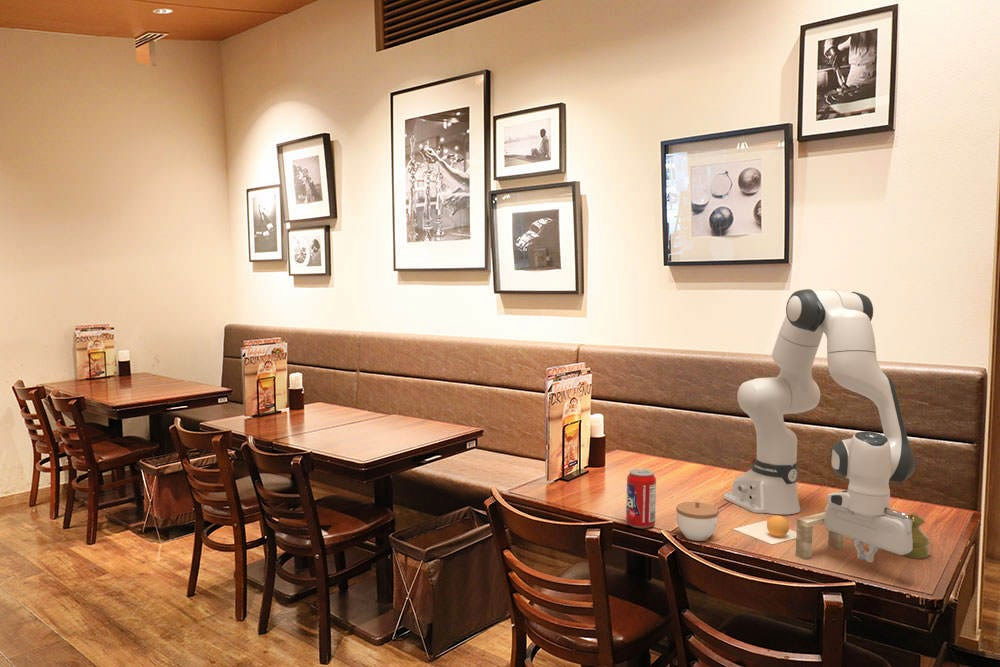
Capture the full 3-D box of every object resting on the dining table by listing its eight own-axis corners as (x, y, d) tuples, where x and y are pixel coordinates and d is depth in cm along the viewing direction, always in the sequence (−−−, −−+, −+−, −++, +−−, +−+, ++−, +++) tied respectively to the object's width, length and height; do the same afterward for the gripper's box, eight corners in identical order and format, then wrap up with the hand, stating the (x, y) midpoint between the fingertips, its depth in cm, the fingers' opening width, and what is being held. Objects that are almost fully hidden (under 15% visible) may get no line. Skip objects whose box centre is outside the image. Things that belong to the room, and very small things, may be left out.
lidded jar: (726, 538, 190) (727, 503, 190) (699, 547, 184) (700, 511, 183) (693, 526, 199) (694, 493, 198) (667, 534, 193) (667, 500, 192)
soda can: (655, 530, 196) (657, 476, 194) (626, 529, 197) (627, 474, 196) (654, 521, 203) (655, 468, 202) (625, 519, 205) (626, 467, 203)
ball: (776, 515, 189) (782, 537, 187) (789, 512, 192) (796, 533, 190) (759, 519, 193) (766, 540, 192) (773, 515, 196) (779, 536, 195)
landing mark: (732, 529, 197) (732, 528, 197) (765, 521, 204) (765, 520, 204) (772, 545, 186) (772, 544, 186) (805, 536, 192) (805, 535, 192)
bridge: (795, 555, 179) (797, 519, 178) (832, 544, 186) (834, 509, 186) (806, 559, 177) (807, 522, 176) (843, 548, 184) (845, 512, 183)
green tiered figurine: (916, 548, 185) (919, 509, 184) (935, 559, 177) (937, 519, 176) (888, 548, 184) (890, 509, 184) (905, 559, 177) (907, 519, 176)
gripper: (920, 513, 163) (917, 573, 164) (837, 489, 180) (835, 543, 181) (904, 518, 159) (900, 579, 160) (821, 493, 177) (818, 548, 178)
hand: (865, 560), depth 171 cm, fingers closed
